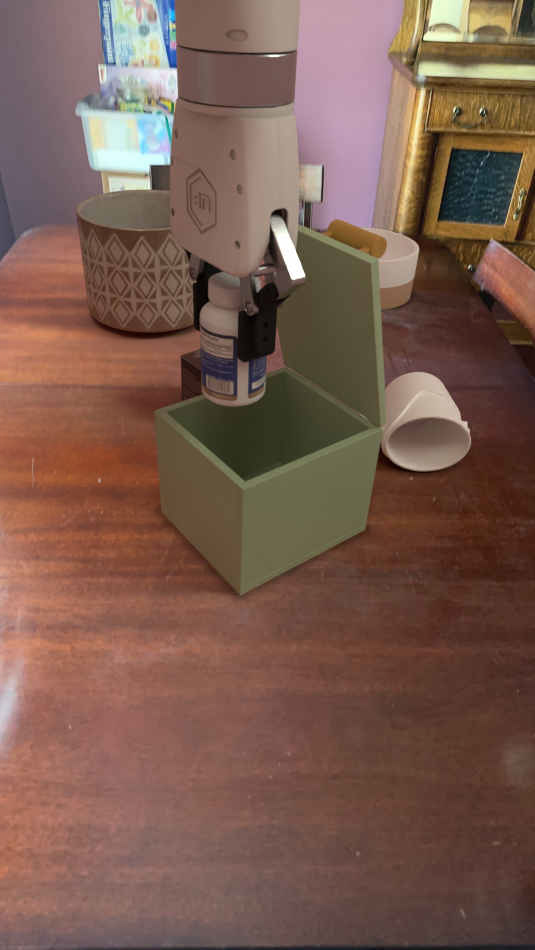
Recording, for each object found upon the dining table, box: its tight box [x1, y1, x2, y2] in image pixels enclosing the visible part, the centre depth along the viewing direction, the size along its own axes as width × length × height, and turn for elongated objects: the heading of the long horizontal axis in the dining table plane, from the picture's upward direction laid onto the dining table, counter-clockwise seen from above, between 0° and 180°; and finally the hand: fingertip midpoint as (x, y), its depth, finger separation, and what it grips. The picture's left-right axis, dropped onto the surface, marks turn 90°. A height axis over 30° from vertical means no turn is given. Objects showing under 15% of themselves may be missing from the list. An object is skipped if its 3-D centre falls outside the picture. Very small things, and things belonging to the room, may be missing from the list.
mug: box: [357, 371, 472, 472], centre depth 78 cm, size 12×9×8 cm
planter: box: [75, 189, 197, 333], centre depth 102 cm, size 19×19×16 cm
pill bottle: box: [199, 272, 268, 406], centre depth 54 cm, size 5×5×10 cm
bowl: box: [323, 226, 420, 311], centre depth 116 cm, size 17×17×8 cm
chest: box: [153, 366, 383, 596], centre depth 65 cm, size 16×14×12 cm
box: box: [179, 348, 203, 401], centre depth 83 cm, size 6×6×7 cm
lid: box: [276, 218, 387, 427], centre depth 60 cm, size 16×14×6 cm
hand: (233, 339), depth 54 cm, fingers closed on pill bottle, 5 cm apart
